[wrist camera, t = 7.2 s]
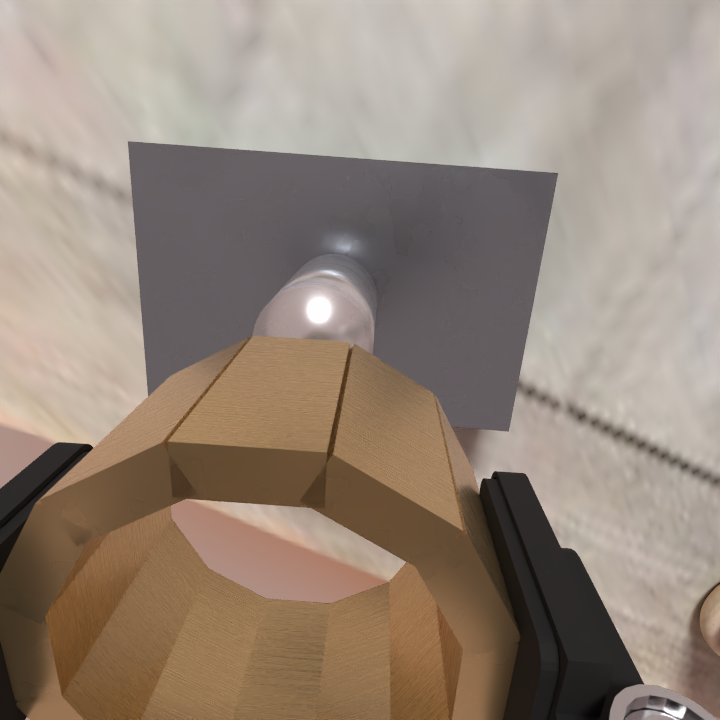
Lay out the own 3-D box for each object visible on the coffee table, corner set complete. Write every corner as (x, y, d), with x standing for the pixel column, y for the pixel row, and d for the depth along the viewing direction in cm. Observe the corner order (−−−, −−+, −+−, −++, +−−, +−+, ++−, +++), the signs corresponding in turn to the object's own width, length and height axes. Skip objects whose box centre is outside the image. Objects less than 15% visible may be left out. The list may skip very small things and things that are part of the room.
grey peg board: (527, 172, 26) (633, 174, 15) (489, 390, 30) (550, 522, 19) (174, 146, 26) (15, 128, 15) (185, 365, 31) (67, 478, 19)
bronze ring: (491, 350, 9) (561, 468, 6) (449, 637, 12) (478, 854, 8) (115, 326, 10) (-59, 425, 6) (148, 614, 12) (41, 815, 8)
